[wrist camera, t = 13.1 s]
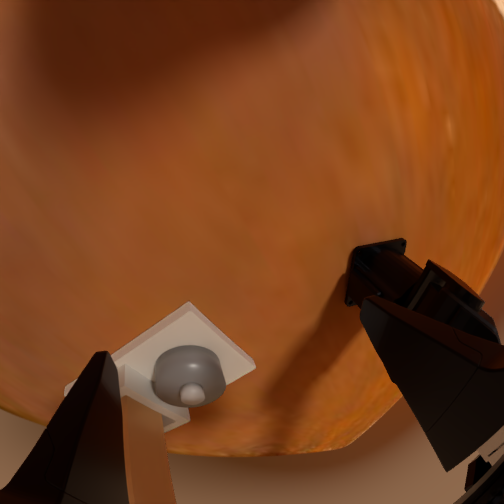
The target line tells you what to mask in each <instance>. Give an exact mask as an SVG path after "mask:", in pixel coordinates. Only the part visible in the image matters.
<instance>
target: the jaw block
mask: <svg viewBox="0 0 504 504" xmlns="http://www.w3.org/2000/svg"><path fill="white" fill-rule="evenodd" d="M121 405H122V415H123V441H124V458H125V470H126V480H127V489H128V497H129V504H176V499H175V494H174V490H173V485H172V479H171V475H170V468H169V462H168V456H167V450H166V443H165V436H164V428H163V420H162V414H160V413H158V412H156V411H154V410H153V409H151V408H149V407H147V406H145V405H143V404H141V403H139V402H138V401H136V400H134V399H132V398H130V397H129V396H127V395H125V396H123V397H121Z"/></svg>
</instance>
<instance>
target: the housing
mask: <svg viewBox="0 0 504 504" xmlns="http://www.w3.org/2000/svg"><path fill="white" fill-rule="evenodd" d="M111 357H112V359H113V361H114V363H115V365H116V367H117V370H118V378H119V388H120V397H123V396H125V395H127V396H129V397H130V398H132V399H134V400H136V401H138V402H139V403H141V404H143V405H145V406H147V407H149V408H151V409H153V410H154V411H156V412H158V413H160V414H162V420H163V428H164V433H165V432H167V431H170V430H172V429H174V428H176V427H179V426H181V425H183V424H185V423H187V422H190V421H191V420H190V415H189V409H188V408H190V407H199V406H203V405H206V404H209V403H211V402H213V401H215V400H216V399H218V398H219V397H220V396H221V395H222V394H223V392H224V391H225V388H226V385H228V384H230V383H231V382H233V381H235V380H237V379H238V378H240V377H242V376H243V375H245V374H247V373H249V372H250V371H252V370H254V369H255V368H256V366H255V363H254V361H253V359H252V358H251V357H250V356H249V355H247V354H246V353H245V352H244V351H243V350H242V349H241V348H239V347H238V346H237V345H236V344H235V343H234V342H233V341H231V340H230V339H229V338H228V337H227V336H226V335H225V334H224V333H223V332H221V331H220V330H219V329H218V328H217V327H216V326H215V325H214V324H213V323H212V322H211V321H209V320H208V319H207V318H206V317H205V316H204V315H203V314H202V313H201V312H200V311H199V310H198V309H197V308H196V307H195V306H194V305H193V304H191V303H190V302H189V301H188V302H187V303H185V304H184V305H183V306H181V307H180V308H178V309H177V310H175V311H174V312H172V313H171V314H170V315H168V316H167V317H165V318H164V319H162V320H161V321H160V322H158V323H157V324H155V325H154V326H152V327H151V328H149V329H148V330H147V331H145V332H144V333H142V334H141V335H139V336H138V337H136V338H135V339H134V340H132V341H131V342H129V343H128V344H126V345H125V346H123V347H122V348H121V349H119V350H118V351H116V352H115V353H113V354H112V355H111ZM77 379H78V378H77ZM77 379H76V380H77ZM76 380H74V381H73V382H71V383H70V384H68V385H67V386H65V391H64V396H66V395H67V394H68V392H69V391H70V389H71V388H72V386H73V385H74V383H75V382H76Z"/></svg>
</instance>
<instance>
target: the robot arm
mask: <svg viewBox="0 0 504 504" xmlns="http://www.w3.org/2000/svg"><path fill="white" fill-rule="evenodd" d="M406 243H407V242H406V240H405V239H403V238H399V239H394V240H389V241H384V242H378V243H373V244H368V245H362V246H358V247H356V248H355V249H354V251H353V257H352V263H351V270H350V275H349V281H348V286H347V292H346V297H345V304H346V305H347V306H348V307H350V306H353V305H357V306H358V307H359V308H360V309H361V311H360V320H361V322H362V324H363V326H364V328H365V330H366V332H367V334H368V336H369V338H370V340H371V342H372V344H373V346H374V348H375V350H376V352H377V354H378V355H379V357H380V359H381V360H382V362H383V364H384V366H385V368H386V370H387V373H388V375H389V377H390V379H391V381H392V382H393V383H395V384H396V385H397V386H398V388H399V390H400V391H401V393H402V394H403V396H404V398H405V399H406V401H407V403H408V405H409V406H410V408H411V410H412V411H413V413H414V415H415V417H416V418H417V420H418V422H419V424H420V425H421V427H422V429H423V431H424V432H425V434H426V436H427V438H428V440H429V442H430V443H431V445H432V447H433V449H434V451H435V452H436V454H437V456H438V458H439V460H440V462H441V464H442V466H443V468H444V469H445V471H446V472H448V471H450V470H451V469H452V468H454V467H455V466H457V465H458V464H459V463H460V462H462V461H463V460H465V459H466V458H467V457H468V456H470V455H471V454H472V453H473V452H475V451H476V450H477V451H478V452H479V455H478V456H477V457H476V458H475V459H474V460H473V461H472V462H471V463H470V464H469V465H468V472H467V477H466V483H465V491H466V493H465V494H464V495H463V496H461V498H459V499H458V500H457V501H456V502H455V503H453V504H504V345H501V342H500V338H499V335H498V332H497V328H496V325H495V322H494V320H493V318H492V317H490V316H489V315H488V314H487V313H486V312H485V311H483V310H482V307H483V305H484V304H485V302H484V300H483V299H481V297H479V295H478V294H476V293H475V292H474V291H473V290H472V289H471V288H470V287H469V286H468V285H467V284H466V283H465V282H463V281H462V280H461V279H459V278H458V277H457V276H455V275H454V274H453V273H451V272H450V271H448V270H447V269H445V268H443V267H441V266H440V265H438V264H436V263H434V262H433V261H431V260H429V259H428V261H427V263H426V267H425V268H424V270H423V269H422V268H421V267H419V266H418V265H417V264H415V263H414V262H413V261H412V260H410V259H409V258H407V257H406V256H405V255H404V252H405V248H406ZM359 251H360V252H359ZM358 252H359V253H358ZM0 504H129V497H128V489H127V480H126V470H125V458H124V441H123V415H122V405H121V397H120V388H119V378H118V370H117V367H116V365H115V363H114V361H113V359H112V357H111V355H110V354H109V352H108V351H99V352H96V353H95V354H94V355H93V357H92V358H91V360H90V361H89V363H88V364H87V365H86V367H85V368H84V370H83V371H82V373H81V374H80V376H79V377H78V379H77V380H76V382H75V383H74V385H73V386H72V388H71V389H70V391H69V392H68V394H67V395H66V397H65V398H64V400H63V401H62V403H61V404H60V406H59V408H58V409H57V411H56V412H55V414H54V416H53V417H52V419H51V420H50V422H49V424H48V425H47V429H45V430H44V432H43V433H42V435H41V437H40V438H39V440H38V441H37V443H36V445H35V446H34V448H33V449H32V451H31V452H30V454H29V455H28V457H27V458H26V460H25V461H24V462H23V464H22V465H21V467H20V468H19V469H18V471H17V472H16V473H15V475H14V476H13V478H12V479H11V481H10V482H9V483H8V484H7V485H6V486H5V487H4V488H3V489H1V490H0Z"/></svg>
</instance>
